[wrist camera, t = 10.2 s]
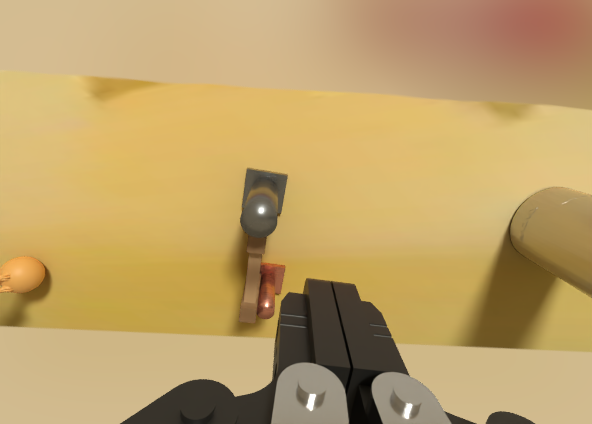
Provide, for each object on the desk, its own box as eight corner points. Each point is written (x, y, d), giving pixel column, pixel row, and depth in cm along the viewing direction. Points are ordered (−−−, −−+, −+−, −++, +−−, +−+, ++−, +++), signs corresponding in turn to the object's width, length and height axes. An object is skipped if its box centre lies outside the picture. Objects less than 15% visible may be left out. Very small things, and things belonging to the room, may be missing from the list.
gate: (254, 211, 35) (248, 236, 29) (269, 213, 35) (266, 238, 29) (246, 284, 38) (238, 321, 31) (259, 285, 38) (255, 323, 31)
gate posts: (301, 176, 35) (309, 202, 26) (280, 291, 40) (280, 349, 30) (247, 167, 35) (235, 190, 25) (232, 284, 39) (216, 342, 30)
